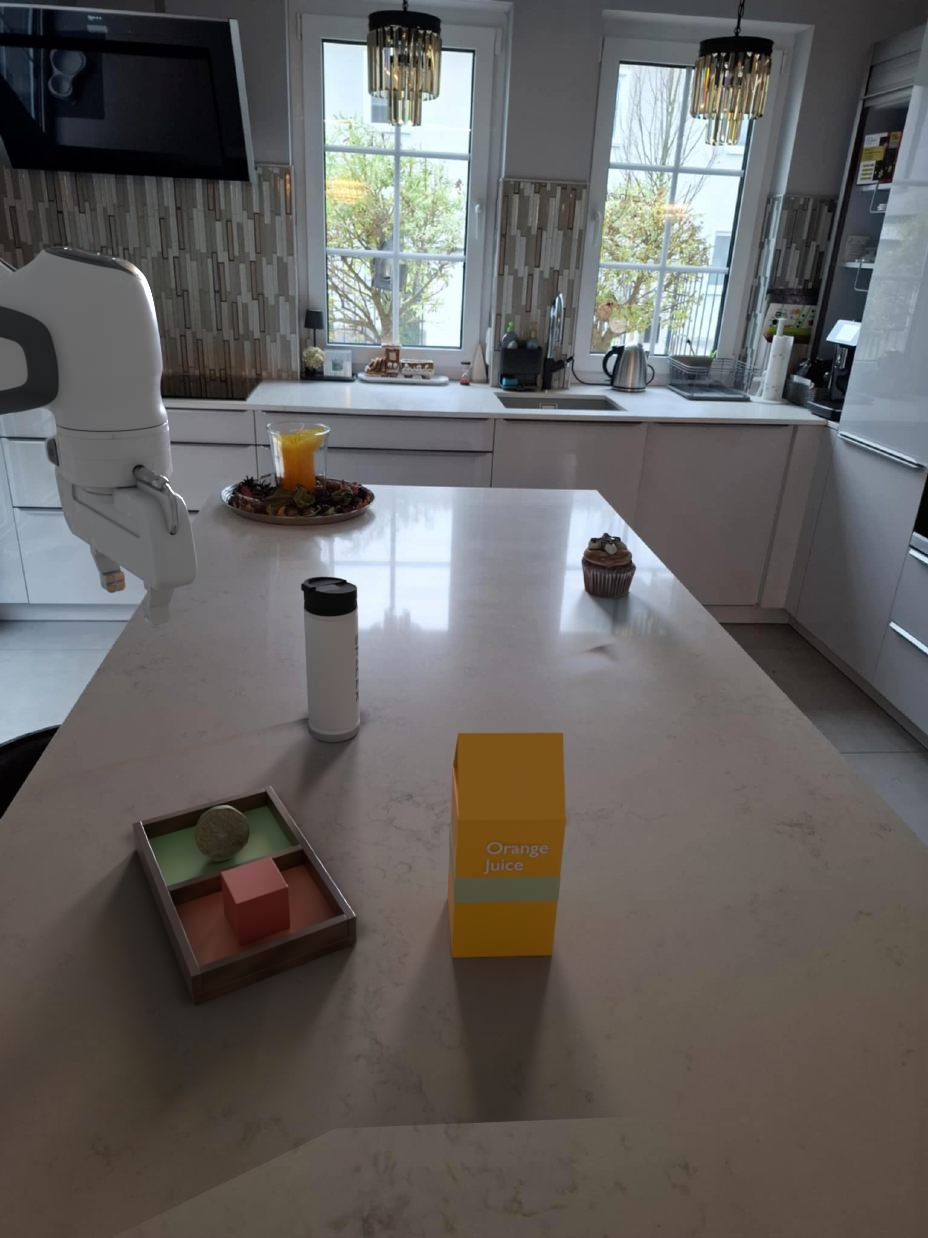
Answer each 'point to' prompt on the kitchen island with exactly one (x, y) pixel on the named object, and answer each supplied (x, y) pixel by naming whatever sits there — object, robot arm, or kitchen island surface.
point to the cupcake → (607, 567)
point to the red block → (255, 900)
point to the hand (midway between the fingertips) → (134, 605)
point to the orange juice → (505, 843)
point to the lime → (221, 833)
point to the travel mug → (331, 658)
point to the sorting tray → (197, 900)
